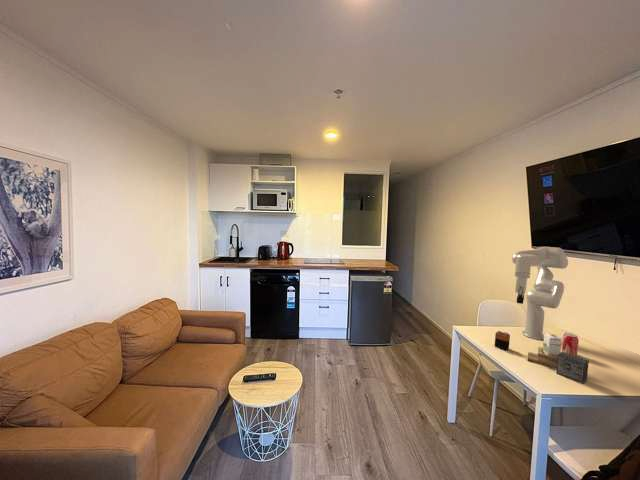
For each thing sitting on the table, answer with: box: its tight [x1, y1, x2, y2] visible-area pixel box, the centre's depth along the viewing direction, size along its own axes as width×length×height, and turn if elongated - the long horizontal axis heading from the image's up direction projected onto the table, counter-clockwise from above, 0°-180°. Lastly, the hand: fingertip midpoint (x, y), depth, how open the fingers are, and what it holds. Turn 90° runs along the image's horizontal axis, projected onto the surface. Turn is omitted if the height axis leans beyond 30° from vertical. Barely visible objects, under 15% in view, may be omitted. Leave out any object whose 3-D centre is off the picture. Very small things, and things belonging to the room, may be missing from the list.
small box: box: [555, 351, 590, 384], centre depth 136 cm, size 11×6×10 cm, turn 33°
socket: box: [527, 346, 562, 370], centre depth 150 cm, size 11×20×6 cm, turn 51°
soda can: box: [561, 332, 580, 356], centre depth 161 cm, size 7×7×12 cm
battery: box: [494, 330, 511, 351], centre depth 167 cm, size 4×7×10 cm, turn 42°
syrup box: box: [542, 333, 562, 357], centre depth 149 cm, size 6×6×14 cm
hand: (520, 301), depth 169 cm, fingers open, 9 cm apart
